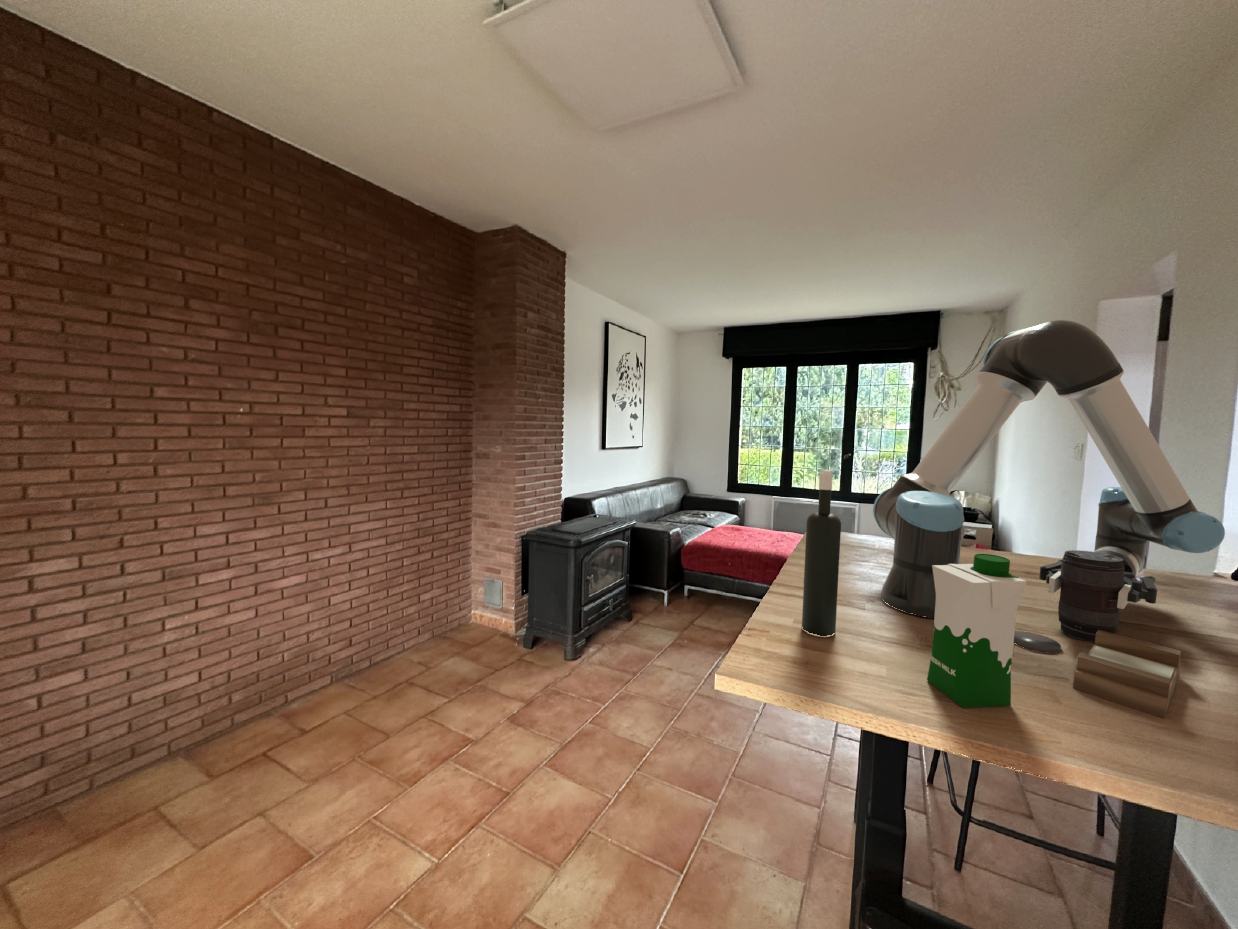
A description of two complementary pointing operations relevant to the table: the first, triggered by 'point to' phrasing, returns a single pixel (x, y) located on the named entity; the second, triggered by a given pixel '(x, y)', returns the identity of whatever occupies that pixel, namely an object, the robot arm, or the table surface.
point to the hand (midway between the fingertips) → (1084, 592)
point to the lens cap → (1036, 642)
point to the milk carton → (975, 630)
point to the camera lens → (1089, 593)
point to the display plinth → (1129, 672)
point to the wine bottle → (821, 564)
